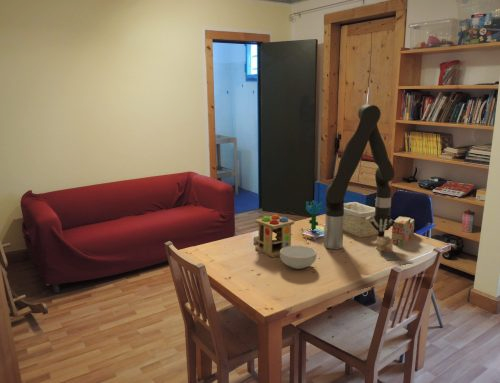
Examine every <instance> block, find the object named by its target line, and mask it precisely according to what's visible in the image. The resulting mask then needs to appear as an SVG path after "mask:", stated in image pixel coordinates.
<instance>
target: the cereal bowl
mask: <svg viewBox="0 0 500 383" xmlns="http://www.w3.org/2000/svg"><path fill="white" fill-rule="evenodd" d="M279 257H280V260H281V261H282V263H283V264H285V265H286V266H289V267H290V268H292V269H298V270H299V269H300V270H302V269H304V268H307V267H309V266H311V265H313V264H314V263H315V261H316V259H317V250H315V249H314V248H313V247H309V246H306V245H305V246H304V245H291V246H288V247H284V248H282V249H281V250H280V255H279Z"/></svg>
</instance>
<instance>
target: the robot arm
mask: <svg viewBox="0 0 500 383" xmlns="http://www.w3.org/2000/svg"><path fill="white" fill-rule="evenodd" d="M357 115H358V118H359V122H358V125H357V127H356V130H355V132H354V134H352V136H351V138H350V139H349V140H348V142H347V143H346V145H345V147H344V149H343V152H342V154H341V157H340V159H339V163H338V167H337V171H336V175H335V176H334V179H333V181H332V182H331V183H330V184H329V185H328V186H327V187H326V189H325V221H324V222H325V224H324V227H323V245H324V248H325V249H331V250H340V249H342V248H343V246H344V245H343V240H344V230H343V222H344V203H345V197H346V193H347V189H348V187H349V184H350V181H351V179H352V177H353V175H354V174H355V172H356V170H357V168H358V166H359V163H360V161H361V159H362V157H363V156H364V152H365V149H366V147H367V146H368V145H367V144H369V146H370V147H369V148H370V151H371V156H372V159H373V162H374V163H375V164H376V165H377V168H376V171H375V174H374V176H375V177H374V178H375V186H376V198H375V204H374V205H375V206H374V208H375V216H374V219H372V220H370V223H371V224H372V225H373V227H374V228H375V229H376V230H378V234H377V237H385V231H388V230H389V229H391V227H393V224H394V223H395V221H394V219H392V218H391V208H392V207H391V206H392V187H391V186H390V184H389V182H392V181H393V180H394V178H395V177H396V176H395V169H394V166H393V164H392V161H391V160H390V158H389V154H388V152H387V147H386V145H385V142H384V140H383V138H382V135H381V133H380V130H379V127H378V122H379V120H380V119H381V109H380V107H378V106H377V105H375V104H370V103H366V104H365V103H364V104H363V105H362V106H360V107H359V109H358V113H357ZM375 221H376V222H377V224H378V227H377V226H376V225H375Z"/></svg>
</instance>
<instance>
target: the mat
mask: <svg viewBox="0 0 500 383" xmlns="http://www.w3.org/2000/svg"><path fill="white" fill-rule="evenodd" d="M375 250H377V252H378V253H379V254H380V255H381V256H382V257H383V258H384V259H385V260H386V261H387V262H391V261H393V262H394V261H395V262H397V261H399V262H400V261H401V262H402V261H403V260H402V259H401V258H400V257H399V255H397V253H395V252H394V250H392V252H380V251H379V250H378V249H377V248H375Z"/></svg>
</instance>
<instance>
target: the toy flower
mask: <svg viewBox="0 0 500 383" xmlns="http://www.w3.org/2000/svg"><path fill="white" fill-rule="evenodd" d="M305 210H306V211H307V212H308V214H311V219H310V220H308V223H309V224H311V225H310V226H311V227H310V228H311V229H312V230H314V229H317V227H316V226H319V222H318V221H317V215H318V214H319V213H320V212H321V211H322V210H323V203H322V202H319V203H318V202H317V201H315V200H314V199H313V200H312V201H306V202H305ZM311 229H310V230H311Z"/></svg>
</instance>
